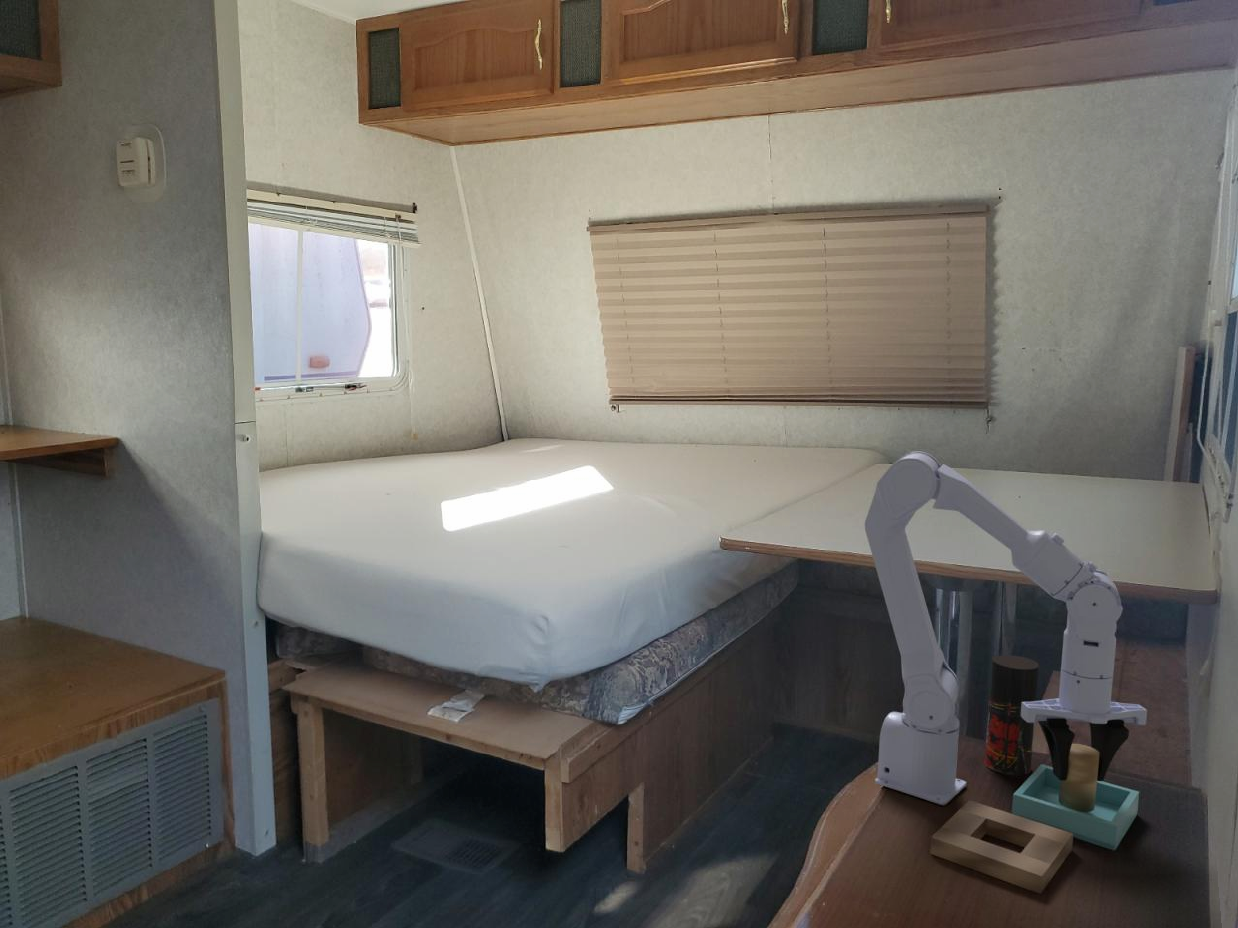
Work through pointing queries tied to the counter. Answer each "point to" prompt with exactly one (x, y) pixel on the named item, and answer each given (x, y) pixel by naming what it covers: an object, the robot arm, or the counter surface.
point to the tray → (1094, 827)
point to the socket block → (1020, 869)
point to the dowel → (1080, 779)
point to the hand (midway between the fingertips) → (1078, 777)
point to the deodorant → (1010, 715)
